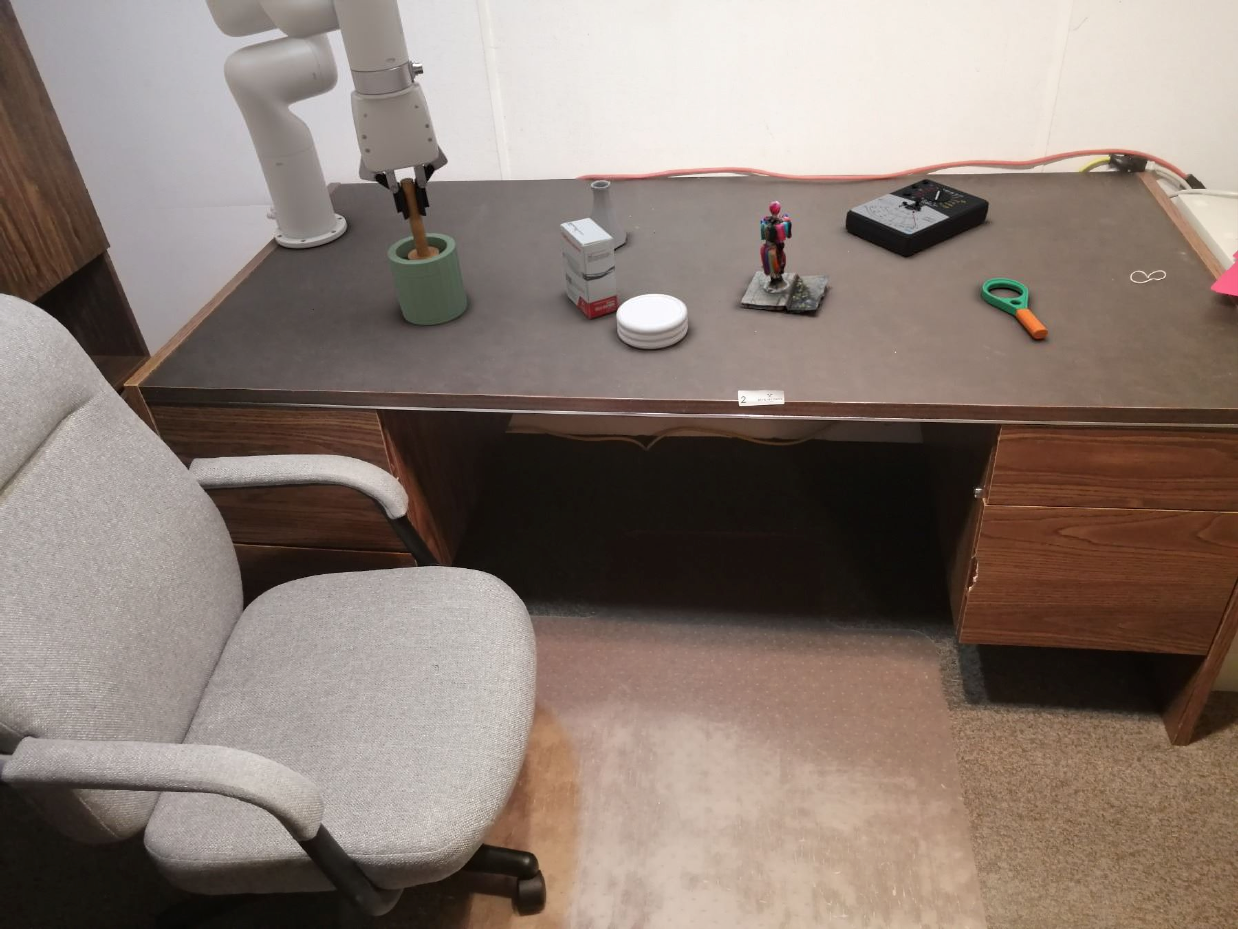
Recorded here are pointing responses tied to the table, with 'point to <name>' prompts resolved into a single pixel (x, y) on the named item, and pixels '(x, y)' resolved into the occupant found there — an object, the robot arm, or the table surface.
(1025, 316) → the magnifying glass
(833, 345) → the table surface
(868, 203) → the multimeter
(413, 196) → the wooden stamp
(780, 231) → the statue
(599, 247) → the ink box
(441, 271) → the jar
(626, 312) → the white round disc stack
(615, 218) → the flask
